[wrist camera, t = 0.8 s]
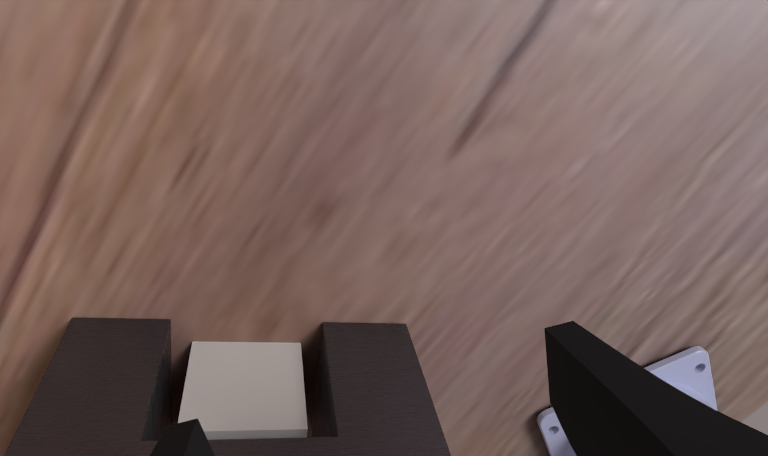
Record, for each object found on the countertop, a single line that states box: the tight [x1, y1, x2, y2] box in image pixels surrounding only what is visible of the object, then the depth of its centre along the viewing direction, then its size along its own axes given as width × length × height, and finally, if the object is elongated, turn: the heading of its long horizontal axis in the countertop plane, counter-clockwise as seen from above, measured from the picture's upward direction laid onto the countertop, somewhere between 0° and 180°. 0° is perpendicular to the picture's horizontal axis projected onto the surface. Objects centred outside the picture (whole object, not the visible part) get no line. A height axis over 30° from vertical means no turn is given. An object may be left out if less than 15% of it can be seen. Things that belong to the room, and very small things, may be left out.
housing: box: [4, 318, 451, 456], centre depth 20 cm, size 5×12×7 cm, turn 82°
